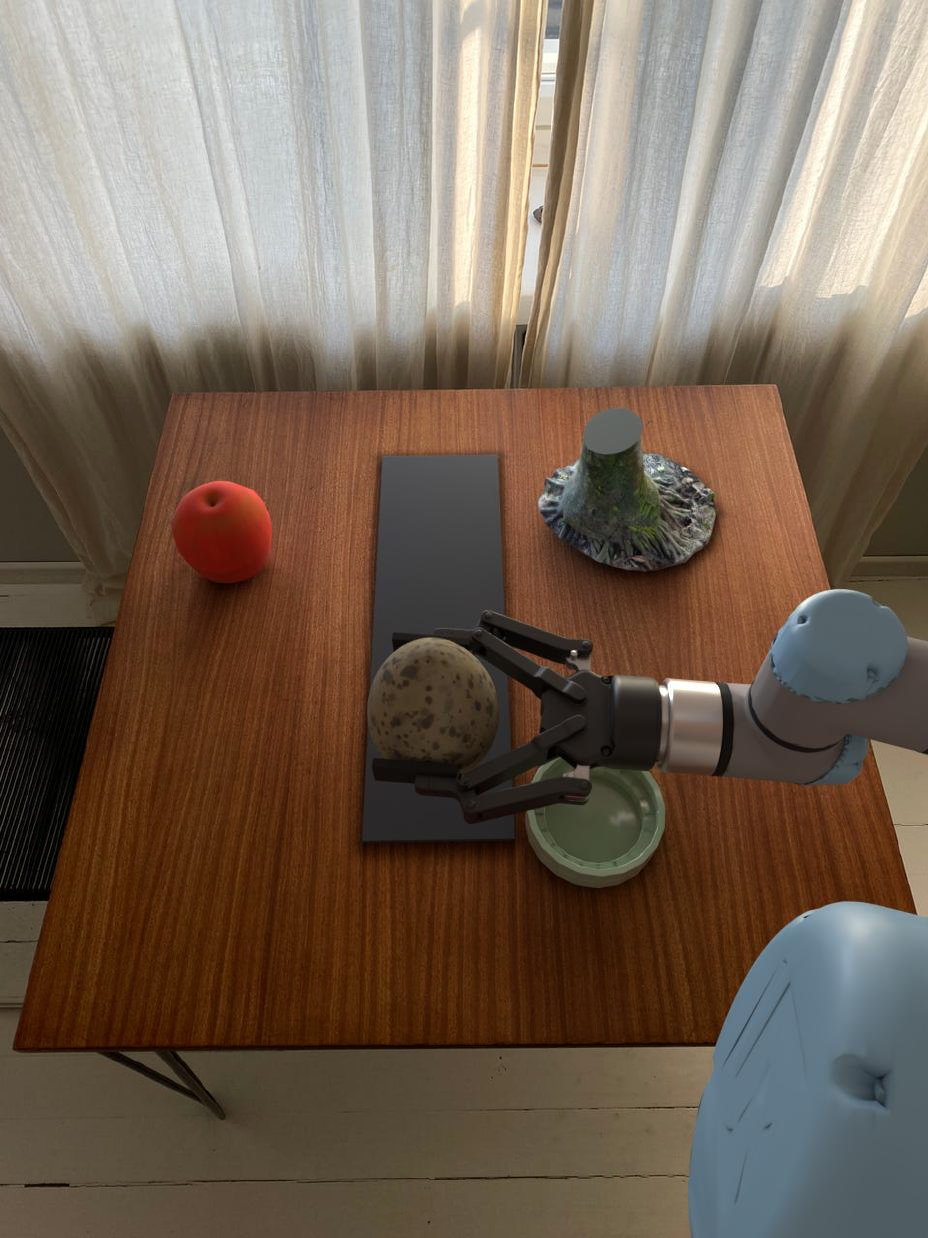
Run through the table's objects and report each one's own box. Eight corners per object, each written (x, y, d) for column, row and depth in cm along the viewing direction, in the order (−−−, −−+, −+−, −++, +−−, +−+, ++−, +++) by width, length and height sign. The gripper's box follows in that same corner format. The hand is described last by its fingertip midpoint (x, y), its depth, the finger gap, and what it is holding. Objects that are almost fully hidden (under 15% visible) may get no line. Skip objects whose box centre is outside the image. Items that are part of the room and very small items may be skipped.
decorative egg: (422, 673, 81) (413, 578, 69) (520, 731, 78) (529, 643, 65) (350, 761, 76) (326, 677, 64) (452, 828, 73) (447, 753, 60)
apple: (272, 519, 101) (251, 448, 92) (288, 586, 96) (267, 518, 86) (184, 539, 100) (153, 469, 90) (195, 609, 94) (164, 542, 85)
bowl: (598, 918, 76) (604, 906, 73) (497, 823, 81) (498, 807, 78) (684, 823, 81) (693, 807, 77) (583, 738, 86) (588, 720, 82)
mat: (515, 841, 80) (515, 839, 79) (362, 843, 80) (361, 841, 79) (497, 457, 106) (497, 454, 106) (382, 459, 106) (382, 455, 106)
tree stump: (744, 563, 98) (752, 468, 82) (573, 618, 100) (549, 535, 84) (687, 442, 107) (685, 335, 91) (531, 494, 109) (503, 398, 93)
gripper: (652, 883, 67) (367, 859, 68) (645, 627, 79) (405, 611, 80) (671, 851, 60) (356, 825, 61) (660, 579, 73) (399, 562, 74)
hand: (383, 704), depth 71 cm, fingers closed on decorative egg, 11 cm apart
